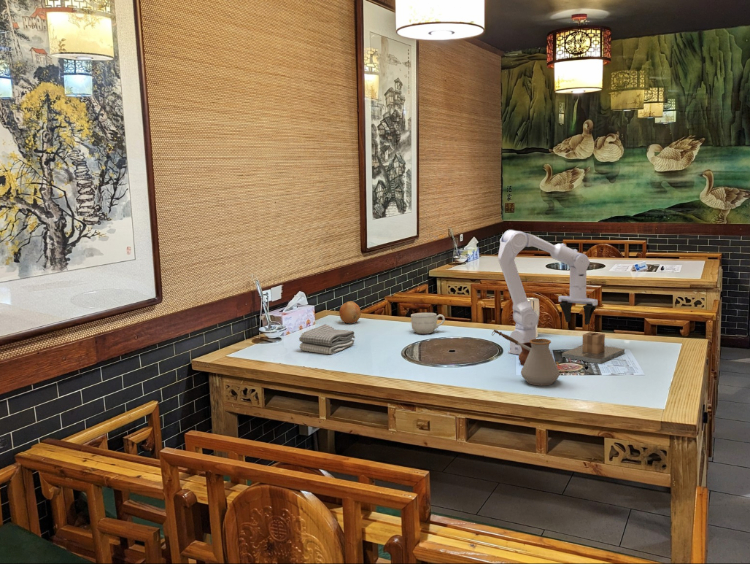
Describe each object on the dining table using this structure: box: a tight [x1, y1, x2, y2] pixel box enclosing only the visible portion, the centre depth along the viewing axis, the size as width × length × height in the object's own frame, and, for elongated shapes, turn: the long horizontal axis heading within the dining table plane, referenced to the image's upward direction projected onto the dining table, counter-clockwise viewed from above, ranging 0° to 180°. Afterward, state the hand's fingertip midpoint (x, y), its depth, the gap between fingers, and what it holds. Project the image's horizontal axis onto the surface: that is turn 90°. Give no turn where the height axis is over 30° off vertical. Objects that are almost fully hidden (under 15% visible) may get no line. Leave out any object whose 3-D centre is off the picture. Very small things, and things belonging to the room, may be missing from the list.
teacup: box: [410, 312, 446, 335], centre depth 278 cm, size 14×11×8 cm
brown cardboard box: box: [582, 331, 606, 354], centre depth 234 cm, size 5×5×6 cm
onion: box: [338, 300, 362, 324], centre depth 303 cm, size 10×10×10 cm
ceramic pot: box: [518, 342, 560, 367], centre depth 226 cm, size 18×18×7 cm
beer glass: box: [527, 297, 540, 339], centre depth 265 cm, size 7×7×15 cm
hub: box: [561, 344, 625, 365], centre depth 234 cm, size 18×14×6 cm
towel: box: [298, 323, 356, 355], centre depth 257 cm, size 15×18×8 cm
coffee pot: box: [491, 329, 560, 387], centre depth 207 cm, size 21×12×15 cm, turn 56°
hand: (577, 323), depth 243 cm, fingers open, 7 cm apart
